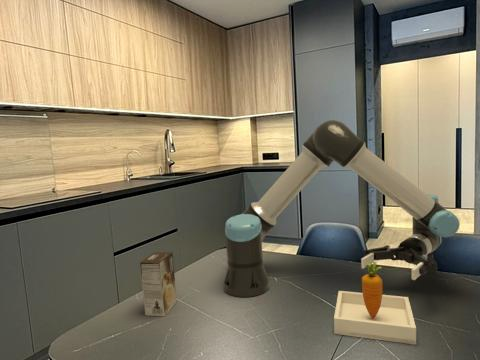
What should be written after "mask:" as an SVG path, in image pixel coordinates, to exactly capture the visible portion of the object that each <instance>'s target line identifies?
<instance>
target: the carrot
mask: <svg viewBox="0 0 480 360" xmlns="http://www.w3.org/2000/svg"><path fill="white" fill-rule="evenodd" d="M366 268H367V272H368V273H367V274H365V275H363V276H362V277H361V289H362V290H361V291H362V292H361V293H363V298H364V302H365V306H366V308H367V311H368V313H369V315H370V316H371V318H374V317H376V315H377V313H378V311H379V309H380V305H381V300H382V295H383V280H382V278H381V277H380V276H379V275H378V274H377V273H378V272H379V271H380V270H382V269H383V268H382V266H378V267H377V261H374V262H373V263H372V264H370V263H369V264H366Z"/></svg>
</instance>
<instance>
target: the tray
mask: <svg viewBox="0 0 480 360" xmlns="http://www.w3.org/2000/svg"><path fill="white" fill-rule="evenodd" d="M333 332H334V333H333V334H334V335H340V336H341V335H342V336H349V337H357V338H365V339H372V340H377V341H378V340H379V341H385V342H394V343H400V344H401V343H402V344H409V345H415V346H417V326H416V323H415V319H414V314H413V311H412V307H411V303H410V300H409V296H398V295H389V294H388V295H387V294H382V300H381V305H380V309H379V311H378V313H377V315H376V317H374V318H371V316H370V315H369V313H368V311H367V308H366V306H365V302H364V298H363V292H355V291H346V290H345V291H344V290H338V293H337V299H336V305H335V310H334V317H333Z"/></svg>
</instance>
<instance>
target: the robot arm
mask: <svg viewBox="0 0 480 360" xmlns="http://www.w3.org/2000/svg"><path fill="white" fill-rule="evenodd" d="M301 147H302V148H301V150H302V151H301V152H300V153H299V155H298V156H297V157H296V158H295V159H294V161H292V163H291V164H290V165H289V166H288V167H287V169H286V170H285V171H284V172H283V173H282V174H281V175H280V176H279V178H278V179H277V180H276V181H275V182H274V183H273V185H272V186H271V187H270V188H269V189H267V191H266V192H265V193H264V195H263V196H262V197H261V198H260V199H259V200H258V201H256V202H254V201H253V202H251V203H250V204H249V206H247V208H246V209H245V210H244V211H243V212H242V213H241V214H238V215H234V216H230V218H228V219H227V220H226V222H225V226H224V227H225V228H224V235H225V246H226V257H227V258H226V259H227V267H226V271H225V275H224V279H223V291H224V292H225V293H226V294H228V295H229V296H232V297H237V298H238V297H239V298H249V297H250V298H251V297H255V296H260V295H262V294H264V293H266V292H267V291H268V290H269V289H270V279H269V277H268V273H267V272H266V268H265V266H264V260H263V257H264V256H263V242H264V239H265V237H266V236H267V235H268V234H269V233H270V232H271V231H272V229H273V228H274V227H275V226H276V225H277V218H278V217H279V215H280V214H281V213H282V212H283V211H284V210H285V208H287V207H288V205H289V204H290V203H291V202H292V201H293V200H294V199H295V198H296V197H297V195H298V194H299V193H300V192H301V191H302V190H303V189H304V187H306V185H307V184H308V183H310V181H311V180H312V179H313V178H314V176H315V175H316V174H317V173H318V172H319V171H320V170H321V169H322V168H328V167H330V166H331V164H333V162H335V163H337V164H338V165H340V166H341V167H342V168H350V170H351V171H353V172H354V173H356V174H357V175H358V176H360V178H362V179H363V180H364V181H366V182H367V183H368V184H370V186H373V187H374V188H375V189H376V190H378V192H380V193H382V195H384V196H385V197H387V198H388V199H390V201H392V202H393V203H395V204H396V205H397V206H398V207H400V208H401V209H402V210H403V211H405V212H406V213H408V214H409V215H410V216H411V217H412V218H411V219H412V227H411V228H412V235H410V236H408V237H407V238H405V239H404V240H403V241H401V242H399V244H398V246H397V247H392V248H391V246H390V245H384V246H382V247H376V248H369V249H364V250H363V257H362V258H361V259H360V261H361V267H360V268H361V269H365V268H367V267H366V264H369V263H370V264H372V265H373V263H374V262H376V261H384V260H386V261H387V260H391V261H393V262H394V261H404V262H405V263H408V264H411V265H414V266H413V268H411V280H413V281H416V280H417V279H418V278H419V277H420V276H422V275H426V274H427V273H430V272H431V273H432V274H437V273H438V263H437V262H436V260H435V258H434V253H433V252H435V251H436V250H437V249H438V248H439V247H440V246H441V244H442V241H443V240H442V238H450V237H452V236H454V235H455V234H457V232H458V231H459V229H460V226H461V225H460V220H459V218H458V216H457V215H455V214H454V213H453V212H452V211H450V210H448V209H446V208H445V207H444V206H442V205H441V204H440V203H439V197H438V196H437V195H435V194H429V193H426V192H424V191H423V190H421V189H420V188H419V187H417V186H416V185H415V184H414V183H413V182H411V181H410V180H409V179H407V178H406V177H405V176H403V175H402V174H401V173H400V172H398V171H397V170H396V169H394V168H393V167H392V166H390V165H389V164H388V163H387V162H385V161H384V160H383V159H381V158H380V157H379V156H377V154H375V153H373V152H372V150H370V149H368V148H367V146H366V142H365V141H363V140H362V139H361V138H360V137H359V136H357V135H356V134H355V133H354V132H353V131H352V130H351V129H350V127H348V126H347V125H346V124H345V123H343V122H342V121H339V120H334V119H333V120H326V121H324V122H323V123H321V124H319V125H318V126H317V127H315V129H314V131H312V133H311V134H310V135H309V137H308V138H307V139H306V140H305V141H304V142H303V143H302V145H301Z"/></svg>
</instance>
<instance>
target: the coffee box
mask: <svg viewBox="0 0 480 360" xmlns="http://www.w3.org/2000/svg"><path fill="white" fill-rule="evenodd" d="M173 253H174V252H172V251H170V252H169V251H167V252H166V251H163V252H160V251H159V252H153V253H151V254H149V255H148V256H147V257H146V258H144V259H143V260H141V261H140V262H139V264H140V265H139V266H140V273H141V274H140V276H141V285H142V296H143V305H144V307H143V308H144V315H145V316H147V317H148V316H150V317H166V316H167V314H168V313H169V312H170V311H171V309H172V308H173V307H174V306H175V305H176V303H177V302H178V301H177V300H178V299H177V289H176V278H175V265H174V254H173Z"/></svg>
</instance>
